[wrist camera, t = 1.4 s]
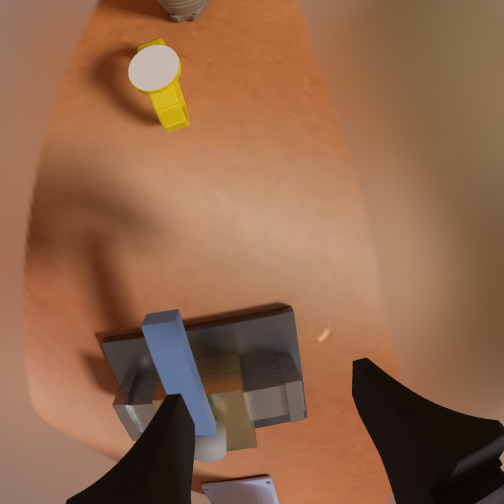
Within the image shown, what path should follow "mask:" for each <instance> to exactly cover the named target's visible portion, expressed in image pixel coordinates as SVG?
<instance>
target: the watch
mask: <svg viewBox="0 0 504 504" xmlns="http://www.w3.org/2000/svg"><path fill="white" fill-rule="evenodd" d="M180 72H181V62H180V60H179V57H178V55H177V54H176V52H175V51H174V50H172V49H171V48H170V47H167V46H166V44H165V42H164V41H163V39H162V38H161V37H159V38H157V39H154V40H151V41H149V42H146V43H143V44H141V45H140V46H139V47H138V53H137V54H136V55H135V56H134V58H133V59H132V61H131V62H130V65H129V68H128V78H129V80H130V83H131V84H132V85H133V86H134V87H135V88H136V89H137V90H138V91H139V92H142V93H144V94H148V96H149V99H150V101H151V104H152V106H153V109H154V111H155V113H156V115H157V117H158V119H159V121H160V123H161V125H162V126H163V128H164V129H165V130H166V131H167V132H172V131H175V130H178V129H181V128H184V127H187V126H189V123H190V120H189V115H188V111H187V107H186V104H185V101H184V98H183V94H182V91H181V88H180V84H179V81H178V78H179V76H180Z"/></svg>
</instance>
